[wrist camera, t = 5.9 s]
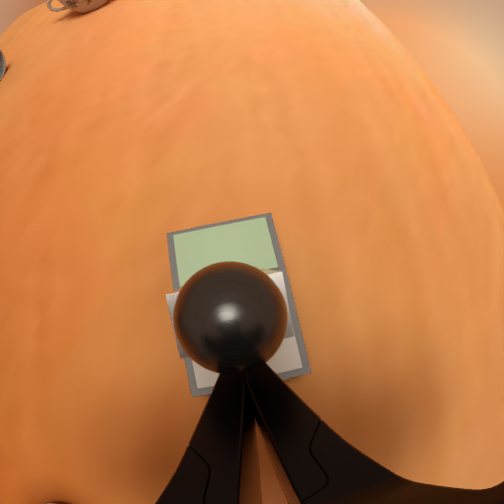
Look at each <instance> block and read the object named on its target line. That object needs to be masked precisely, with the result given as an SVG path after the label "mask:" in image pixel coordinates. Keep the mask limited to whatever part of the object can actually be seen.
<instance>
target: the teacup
mask: <svg viewBox="0 0 504 504" xmlns="http://www.w3.org/2000/svg"><path fill="white" fill-rule="evenodd" d="M51 1H52V0H47V3H46V4H47V7H48V8H49V9H50V10H51V11H55V12H58V11H62V10H66V9H70V10H73V11H77V12H80V13H86V12H89V11H92V10H95V9H97V8H99V7H101V6H102V5H103V4H105V3H106V2H107V0H58V1H60V3H61V4H62V5H64V6H65V7H62V8H52V7H51V5H50V4H51Z"/></svg>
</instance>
